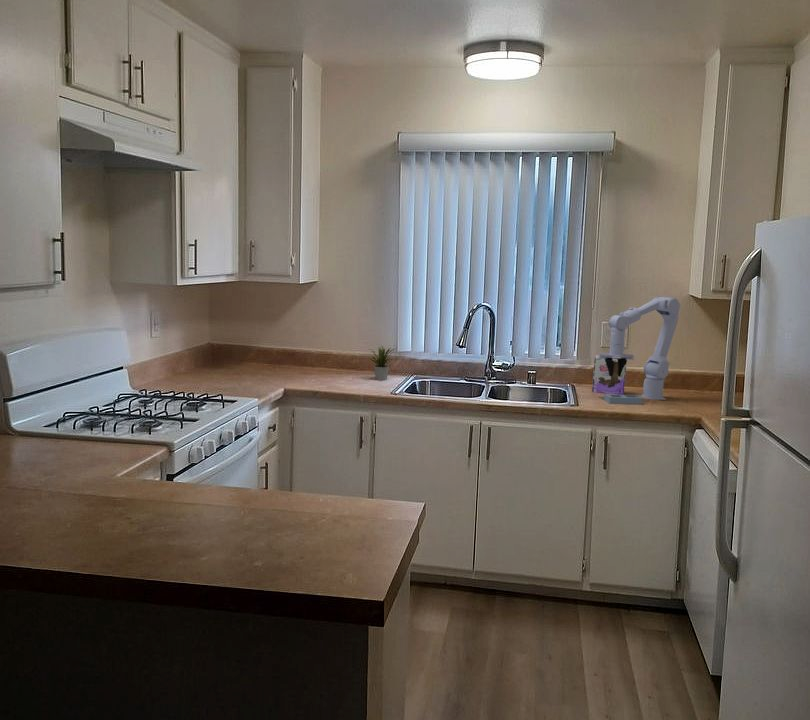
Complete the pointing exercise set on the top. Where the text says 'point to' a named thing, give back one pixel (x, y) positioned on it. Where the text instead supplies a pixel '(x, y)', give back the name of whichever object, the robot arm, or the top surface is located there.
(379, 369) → the house plant
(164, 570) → the top surface
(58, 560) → the top surface
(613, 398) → the hole block
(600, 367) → the candy box
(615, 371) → the dowel
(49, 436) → the top surface
